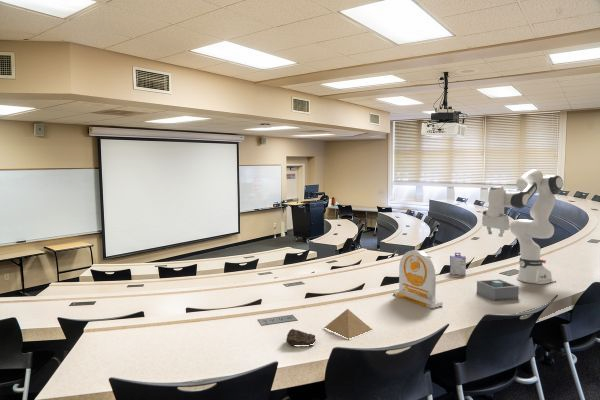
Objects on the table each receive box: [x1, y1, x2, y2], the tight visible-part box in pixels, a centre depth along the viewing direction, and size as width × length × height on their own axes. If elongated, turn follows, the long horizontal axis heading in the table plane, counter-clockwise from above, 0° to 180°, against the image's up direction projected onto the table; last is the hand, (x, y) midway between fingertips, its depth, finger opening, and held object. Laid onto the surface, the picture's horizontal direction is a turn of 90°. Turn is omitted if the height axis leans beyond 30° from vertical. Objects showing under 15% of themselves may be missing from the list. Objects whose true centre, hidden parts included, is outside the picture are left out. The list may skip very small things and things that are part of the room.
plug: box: [492, 281, 503, 288], centre depth 223 cm, size 4×4×7 cm
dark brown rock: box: [285, 328, 317, 346], centre depth 163 cm, size 12×10×5 cm
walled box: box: [476, 278, 520, 302], centre depth 223 cm, size 15×15×7 cm
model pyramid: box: [323, 308, 373, 339], centre depth 177 cm, size 17×17×10 cm
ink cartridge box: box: [449, 252, 467, 276], centre depth 271 cm, size 10×6×14 cm, turn 78°
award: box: [393, 249, 444, 309], centre depth 216 cm, size 28×9×28 cm, turn 29°
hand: (495, 235), depth 241 cm, fingers open, 8 cm apart
